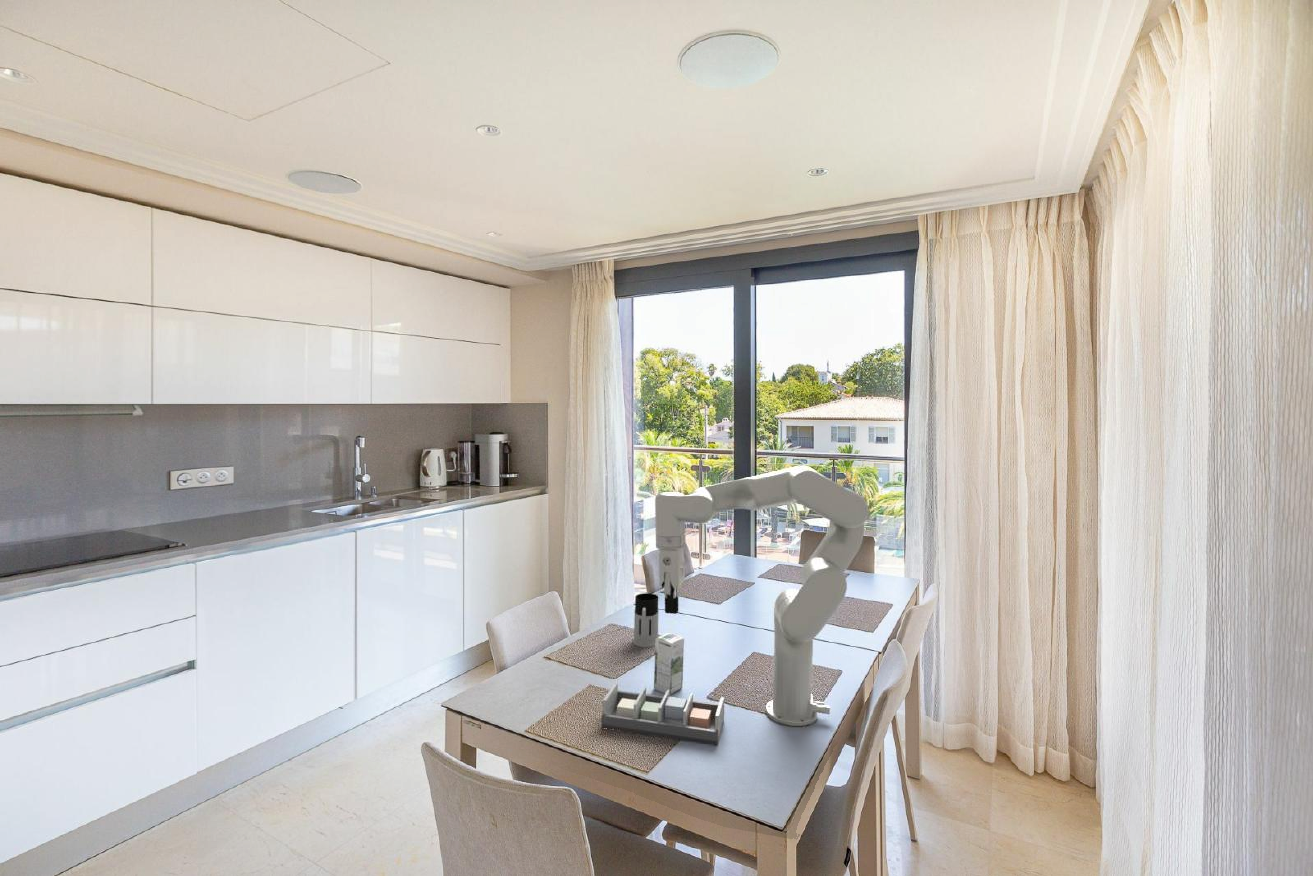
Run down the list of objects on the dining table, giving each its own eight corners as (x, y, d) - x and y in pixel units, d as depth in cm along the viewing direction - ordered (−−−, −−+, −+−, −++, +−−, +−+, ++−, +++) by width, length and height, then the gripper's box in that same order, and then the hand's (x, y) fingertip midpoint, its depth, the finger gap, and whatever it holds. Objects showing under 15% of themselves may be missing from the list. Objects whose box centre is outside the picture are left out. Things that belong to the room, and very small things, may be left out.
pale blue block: (686, 711, 152) (686, 699, 151) (682, 719, 147) (683, 707, 147) (668, 708, 153) (669, 696, 152) (664, 717, 148) (665, 705, 148)
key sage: (662, 715, 153) (662, 703, 153) (658, 724, 149) (658, 712, 149) (645, 713, 154) (645, 701, 154) (640, 722, 150) (640, 709, 150)
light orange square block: (710, 722, 150) (710, 710, 150) (707, 731, 146) (708, 719, 146) (692, 719, 151) (693, 708, 151) (689, 729, 147) (689, 716, 147)
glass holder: (660, 637, 207) (661, 593, 206) (656, 654, 193) (657, 607, 192) (634, 636, 208) (635, 592, 207) (628, 653, 194) (629, 605, 193)
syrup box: (666, 682, 174) (667, 631, 173) (683, 688, 170) (684, 637, 170) (653, 689, 170) (654, 637, 169) (670, 696, 166) (671, 643, 165)
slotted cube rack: (723, 722, 153) (724, 696, 153) (717, 745, 142) (718, 717, 142) (615, 706, 160) (615, 681, 159) (601, 728, 149) (601, 701, 148)
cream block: (638, 712, 155) (639, 700, 154) (634, 721, 150) (634, 709, 150) (622, 710, 156) (622, 698, 155) (616, 718, 151) (616, 706, 151)
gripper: (679, 548, 149) (680, 623, 150) (690, 535, 164) (691, 604, 165) (649, 547, 151) (650, 621, 152) (662, 534, 165) (663, 602, 166)
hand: (671, 612), depth 158 cm, fingers closed
